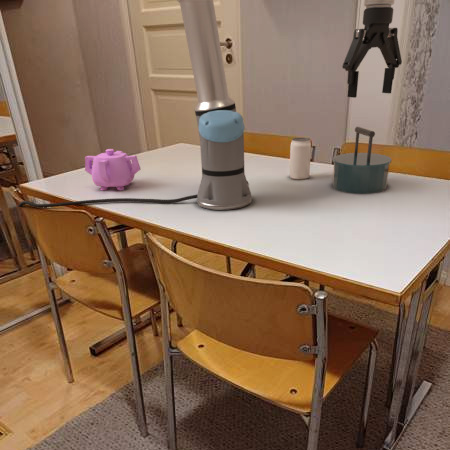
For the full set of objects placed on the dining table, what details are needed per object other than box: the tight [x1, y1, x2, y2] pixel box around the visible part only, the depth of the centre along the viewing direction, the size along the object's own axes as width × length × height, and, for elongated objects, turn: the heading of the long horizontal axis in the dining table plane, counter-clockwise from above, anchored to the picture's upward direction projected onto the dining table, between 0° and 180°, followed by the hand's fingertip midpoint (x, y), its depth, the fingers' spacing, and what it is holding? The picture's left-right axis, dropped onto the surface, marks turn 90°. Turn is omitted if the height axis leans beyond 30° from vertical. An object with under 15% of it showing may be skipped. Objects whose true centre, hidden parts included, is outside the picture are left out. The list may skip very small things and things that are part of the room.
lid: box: [332, 126, 393, 167], centre depth 134 cm, size 17×17×10 cm
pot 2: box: [332, 162, 390, 194], centre depth 138 cm, size 16×16×8 cm
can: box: [289, 136, 312, 181], centre depth 149 cm, size 6×6×12 cm
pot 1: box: [84, 148, 141, 191], centre depth 147 cm, size 18×17×12 cm
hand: (369, 95), depth 132 cm, fingers open, 13 cm apart
